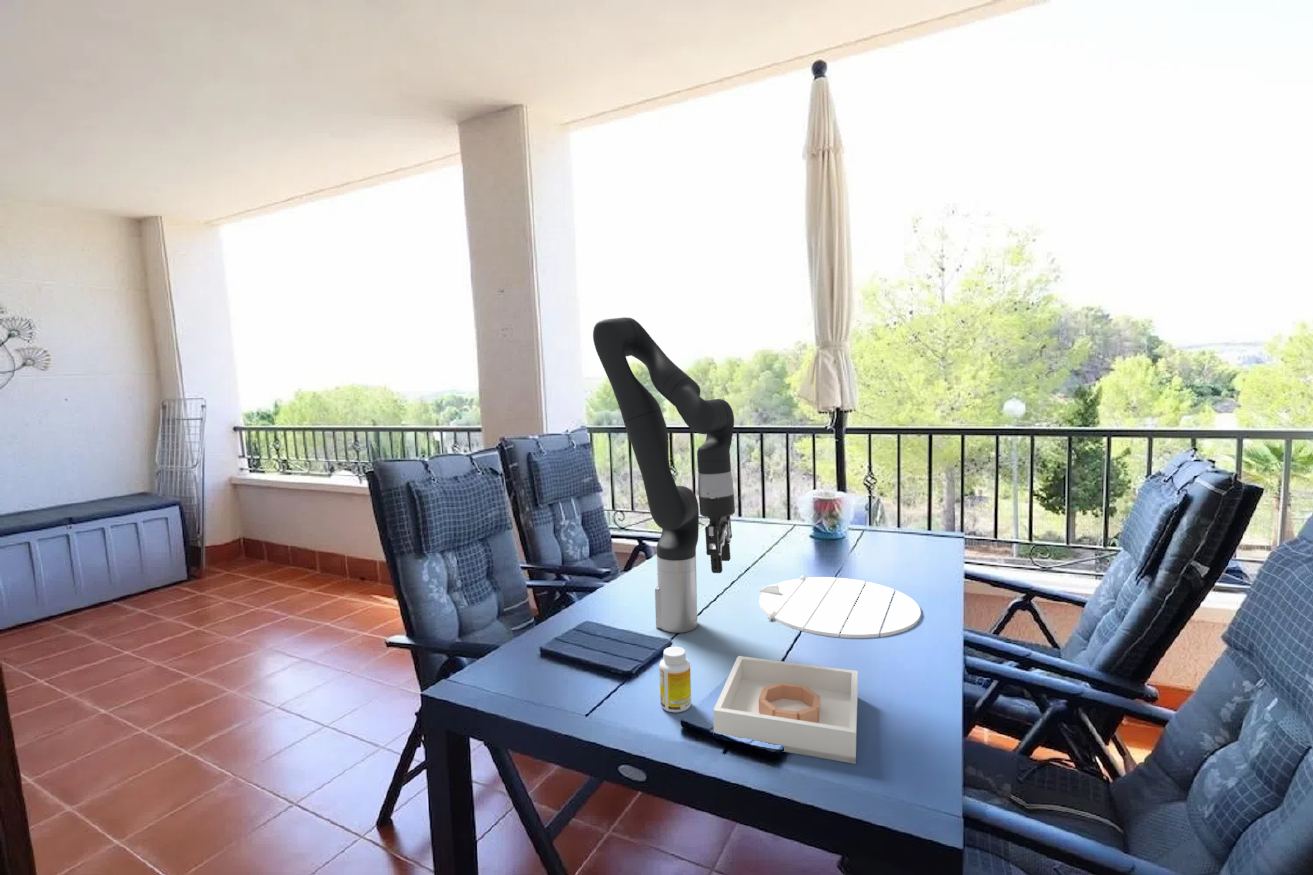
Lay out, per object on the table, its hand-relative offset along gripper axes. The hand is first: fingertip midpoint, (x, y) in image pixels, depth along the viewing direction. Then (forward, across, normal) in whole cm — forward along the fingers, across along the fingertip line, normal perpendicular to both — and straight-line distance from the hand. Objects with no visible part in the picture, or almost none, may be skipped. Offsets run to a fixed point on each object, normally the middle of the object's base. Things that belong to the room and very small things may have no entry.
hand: (721, 566), depth 131 cm
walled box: (+19, +24, +16) cm, 35 cm away
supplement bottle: (+18, +26, -4) cm, 32 cm away
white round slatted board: (+20, -31, +22) cm, 42 cm away
